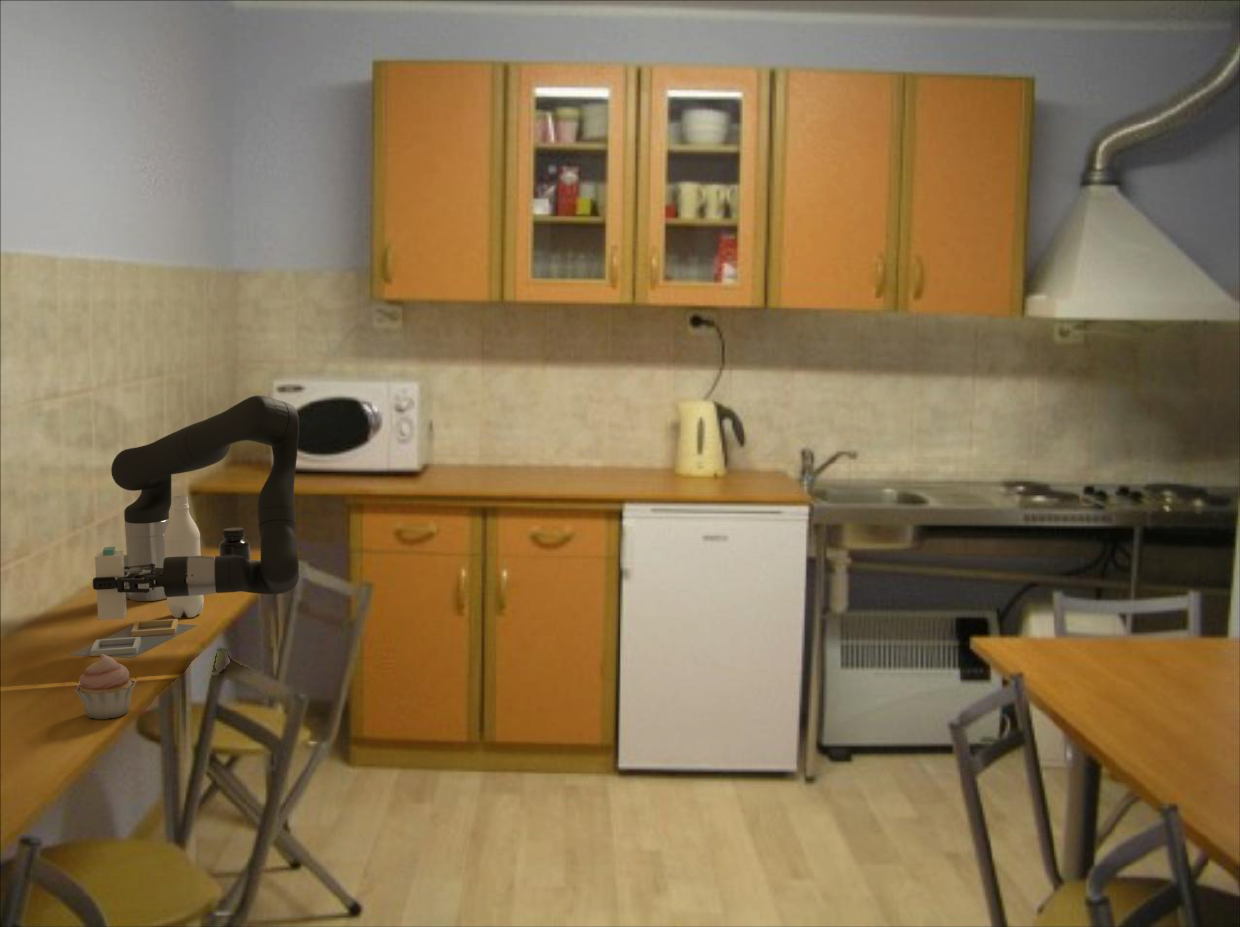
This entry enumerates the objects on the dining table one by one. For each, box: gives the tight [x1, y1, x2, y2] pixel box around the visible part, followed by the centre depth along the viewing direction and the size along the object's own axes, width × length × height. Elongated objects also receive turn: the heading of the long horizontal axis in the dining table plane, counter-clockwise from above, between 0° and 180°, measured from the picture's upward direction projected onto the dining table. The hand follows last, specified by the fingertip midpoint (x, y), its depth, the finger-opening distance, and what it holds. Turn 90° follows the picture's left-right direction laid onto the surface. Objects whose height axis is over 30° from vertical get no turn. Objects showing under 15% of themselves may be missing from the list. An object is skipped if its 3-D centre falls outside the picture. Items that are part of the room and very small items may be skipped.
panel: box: [69, 618, 198, 659], centre depth 267 cm, size 13×25×2 cm, turn 169°
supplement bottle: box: [218, 527, 251, 560], centre depth 320 cm, size 7×7×12 cm
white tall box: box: [94, 546, 127, 621], centre depth 259 cm, size 4×4×13 cm
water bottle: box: [164, 495, 205, 619], centre depth 286 cm, size 7×7×25 cm
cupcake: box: [74, 654, 137, 720], centre depth 223 cm, size 9×9×10 cm
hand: (95, 580), depth 258 cm, fingers closed on white tall box, 4 cm apart
